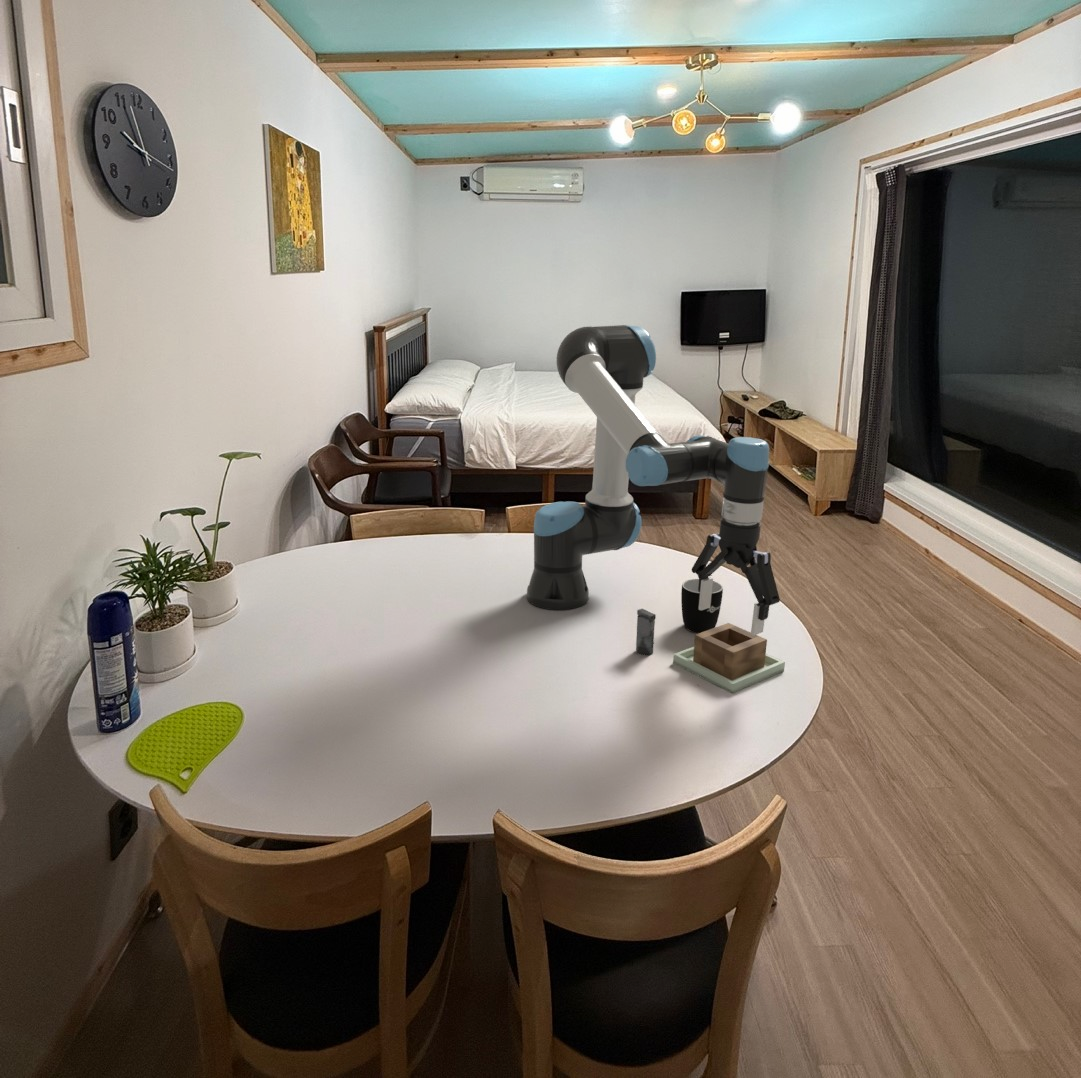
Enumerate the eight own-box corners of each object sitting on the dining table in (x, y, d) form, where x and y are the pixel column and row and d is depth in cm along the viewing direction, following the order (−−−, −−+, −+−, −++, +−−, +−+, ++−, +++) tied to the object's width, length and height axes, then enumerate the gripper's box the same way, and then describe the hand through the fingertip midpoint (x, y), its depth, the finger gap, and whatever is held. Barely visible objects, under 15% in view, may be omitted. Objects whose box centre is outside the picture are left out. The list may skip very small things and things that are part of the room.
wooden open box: (726, 648, 169) (728, 622, 167) (764, 666, 161) (767, 639, 160) (693, 661, 163) (695, 634, 162) (731, 680, 156) (733, 652, 154)
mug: (706, 639, 175) (709, 596, 172) (671, 628, 180) (674, 586, 177) (733, 623, 183) (737, 581, 180) (699, 612, 189) (702, 572, 186)
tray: (673, 662, 164) (673, 654, 164) (724, 643, 173) (725, 635, 172) (732, 693, 152) (732, 684, 152) (784, 670, 161) (785, 661, 160)
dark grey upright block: (631, 650, 169) (633, 611, 167) (644, 646, 172) (646, 607, 169) (644, 657, 166) (646, 617, 164) (657, 652, 168) (659, 613, 166)
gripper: (679, 506, 160) (671, 603, 167) (782, 542, 141) (767, 649, 149) (705, 500, 164) (696, 594, 172) (808, 534, 146) (793, 639, 153)
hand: (729, 620), depth 160 cm, fingers open, 13 cm apart
